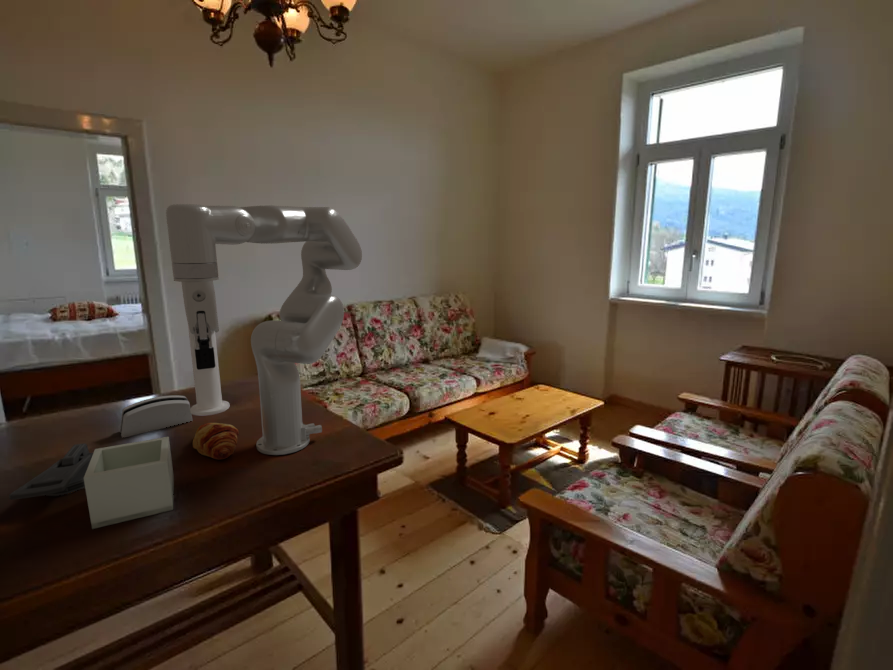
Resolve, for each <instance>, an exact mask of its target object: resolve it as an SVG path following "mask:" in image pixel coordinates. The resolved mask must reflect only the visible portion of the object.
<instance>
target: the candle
mask: <svg viewBox="0 0 893 670" xmlns="http://www.w3.org/2000/svg"><path fill="white" fill-rule="evenodd" d="M197 296H198V297H200V296H201V295H200V294H198V295H197ZM196 314H197V312H196ZM204 314H205V311H204ZM197 321H198V318H197ZM207 324H208V323H207ZM187 328H188V338H189V347H190V355H191V362H192V364H191V365H192V372H193V373H192V374H193V381H194V388H195V390H194V391H195V400H196V404H193V405H191V406H190V413H191V414H192V415H193V416H199V417H203V416H206V417H207V416H212V415H218V414H221V413H223V412H226V411H227V410H228V409H230V406H231V405H230V404H231V403H230V402H229V401H227V400H223V396H222V388H221V387H222V385H221V377H220V368H219V367H220V366H219V358H218V357H219V356H218V348H217V338H216V337H217V335H216V332H215V331H212V330H211V328H210V330H211V340H212V347H214V356H215V368H209V369H200V370H198V369H197V365H196V356H195V349H196V343H195V336H194V334H192V333H190V329H189V325H188V324H187ZM193 329H194V327H193ZM206 331H207V332H208V329H206ZM196 332H197V333H199V330H197V329H196ZM198 337H200V336H198ZM207 337H208V336H207Z"/></svg>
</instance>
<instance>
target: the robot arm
mask: <svg viewBox="0 0 893 670" xmlns="http://www.w3.org/2000/svg"><path fill="white" fill-rule="evenodd" d="M165 216H166V217H165V219H166V224H167V235H168V241H169V243H168V244H169V249H170V250H169V252H170V258H171V267H172V276H173V281H174V282H180V283H181V289H182V291H181V292H182V297H183V305H184V311H185V316H186V321H187V326H188V325H189V329H190V333H192V334H194V336H195V343H196V349H195V356H196V365H197V369H198V370H200V369H209V368H215V356H214V347H212V340H211V330H212V331H215V333H218V332H219V331H220V328H219V326H220V325H219V319H218V317H219V316H218V310H217V299H216V291H215V286H214V281H218V280H220V279H219V268H218V261H217V260H218V259H217V248H216V247H217V246H216V245H227V246H228V245H233V246H234V245H236V246H237V245H241V244H244V243H251V244H262V245H265V244H287V243H301V242H304V243H303V245H302V248H301V251H300V252H301V253H300V258H301V266H302V278H301V280H300V281H299V282H298V284H297V286H296V287H294V289H293V290H292V291H291V292H290V294H289V296H287V298H285V300H284V302H283V303H282V305H281V306H280V310H279V318H280V320H266V321H263V322H260V323H259V324H257V325H256V326H255V327H254V329H253V330H252V333H251V337H250V344H251V345H250V347H251V350H252V354H253V357H254V360H255V364H256V369H257V378H258V389H259V390H258V391H259V404H260V417H261V430H262V436H261V437H260V438H259V439H258V440H257V441H256V450H257V451H258V452H260V453H261V454H264V455H269V456H282V455H283V456H284V455H289V454H293V453H297V452H299V451H300V450H303V449H304V448H306V447H307V446H308V445H309V443H310V435H313V434H319V433H322V432H323V427H322V424H318V425H315V423H308V424H306V423H304V422H303V411H302V391H301V377H300V372H299V369H298V367H297V365H296V364H301V365H311V364H315V363H316V362H318V361H319V360H320V358H322V357H323V355H324V354H325V352H326V350H327V349H328V348H329V345H330V344H331V343H332V342H333V340H334V339H335V336H336V335H337V333H338V332H339V330H340V329H341V327H342V324H343V321H344V318H345V317H344V316H345V309H344V308H345V307H344V305H343V302H342V301H341V299H340V298H338V297H337V296H336V295H334V294H332V293H333V287H332V283H331V281H330V279H329V277H328V274H327V271H326V270H335V271H336V270H338V271H340V270H341V271H351V270H355V269H356V268H358V267H359V266H360V264H361V262H362V259H363V254H362V253H363V252H362V247H361V244H360V242H359V241H358V239H357V238H356V236H355V234H354V233H353V231H352V229H351V228H350V226H349V225H348V223H347V222H346V220H345V219H344V218H343V216H342V215H341V214H340V213H339V212H338V210H336V209H334V208H333V207H329V206H288V205H287V206H286V205H272V204H271V205H252V206H235V205H202V204H190V203H187V204H186V203H175V204H170V205H168V206H167V208H166V210H165ZM198 294H200V295H201V296H200V297H198V296H197V295H198ZM204 311H205V314H204ZM196 312H197V314H196ZM197 318H198V321H197ZM207 323H208V324H207ZM193 327H194V329H193ZM210 328H211V330H210ZM189 329H188V330H189ZM196 329H197V330H199V333H197V332H196ZM206 329H208V332H207V331H206ZM198 336H200V337H198ZM207 336H208V337H207Z"/></svg>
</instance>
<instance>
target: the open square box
mask: <svg viewBox="0 0 893 670" xmlns="http://www.w3.org/2000/svg"><path fill="white" fill-rule="evenodd" d="M92 453H93V456H92V458H91V461H90V463H89V466H88V468H87V471H86V473H85V476H84V483H85V488H84V489H85V495H86V499H87V501H86V502H87V506H88V507H87V508H88V512H89V518H90V524H91V529H92V530H94V529H100V528H103V527H106V526H110V525H115V524H119V523H122V522H128V521H133V520H135V519H141V518H144V517H148V516H153V515H157V514H162V513H166V512H169V511H173V510H174V495H173V494H175V493H174V491H175V477H174V470H173V461H172V460H173V459H172V452H171V445H170V437H169V436H164V437H163V436H162V437H158V438H152V439H146V440H140V441H134V442H129V443H123V444H116V445H111V446H110V445H109V446H107V447H105V446H104V447H99V448H94V451H93V452H92Z"/></svg>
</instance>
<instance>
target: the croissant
mask: <svg viewBox="0 0 893 670" xmlns="http://www.w3.org/2000/svg"><path fill="white" fill-rule="evenodd" d="M239 433H240V432H239V429H238V428H236V427H235V426H234V425H232V424H229V423H222V422H220V423H219V422H207V423H203V424H201V425H199V426H198V428H197V429H196V432H195V435H194V437H193V439H192V448H193V449H195V450H196V451H197V452H198V453H199V454H201V455H202V456H205V457H208V458H212V459H214V460H218V461H219V460H225V459H226V458H229V457H230V456H232V454H234V452H235V451H236V447H237V444H238V437H239V436H240V435H239Z"/></svg>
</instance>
